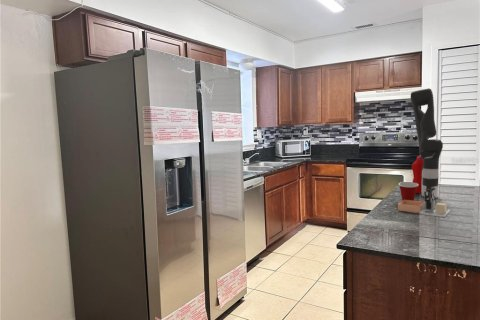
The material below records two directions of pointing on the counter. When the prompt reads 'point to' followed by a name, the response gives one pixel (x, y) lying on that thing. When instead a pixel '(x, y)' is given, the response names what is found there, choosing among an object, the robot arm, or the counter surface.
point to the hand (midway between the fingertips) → (429, 207)
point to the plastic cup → (408, 190)
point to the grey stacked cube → (431, 206)
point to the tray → (434, 213)
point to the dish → (411, 206)
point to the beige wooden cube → (441, 208)
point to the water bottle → (418, 173)
